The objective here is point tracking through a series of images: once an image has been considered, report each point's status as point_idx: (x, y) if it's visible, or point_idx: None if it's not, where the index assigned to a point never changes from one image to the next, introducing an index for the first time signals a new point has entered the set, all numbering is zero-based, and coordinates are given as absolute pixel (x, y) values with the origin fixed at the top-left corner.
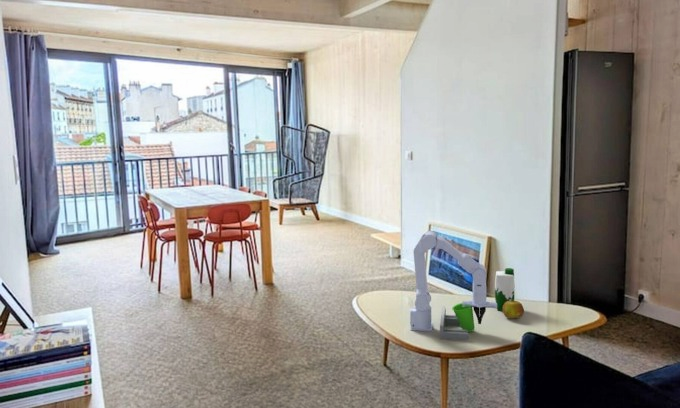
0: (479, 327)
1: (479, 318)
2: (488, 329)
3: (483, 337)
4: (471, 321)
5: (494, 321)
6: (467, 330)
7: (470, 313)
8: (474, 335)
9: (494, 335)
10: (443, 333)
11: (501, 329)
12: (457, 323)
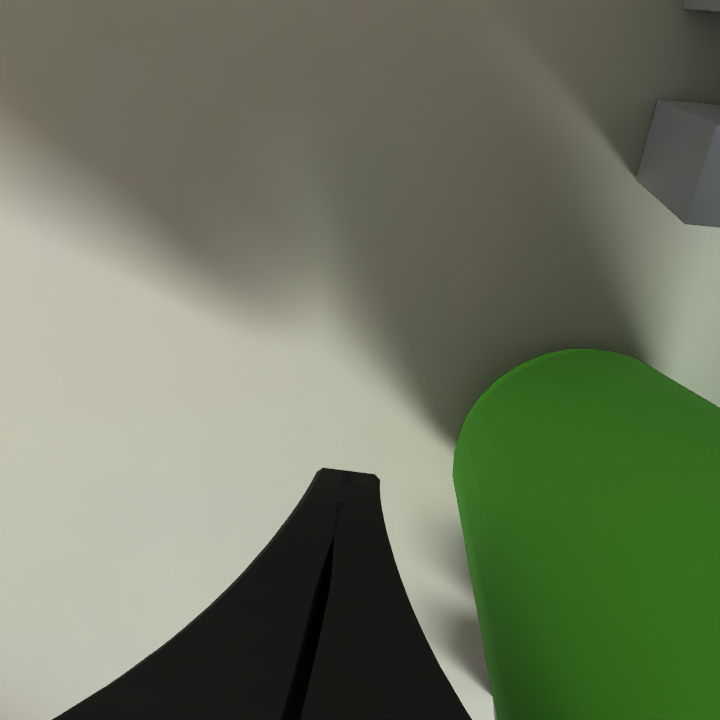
0: None
1: (335, 556)
2: (217, 484)
3: (319, 150)
4: (564, 487)
5: None
6: (713, 179)
7: (667, 704)
8: (486, 242)
9: (114, 257)
10: None
11: (28, 482)
12: None
